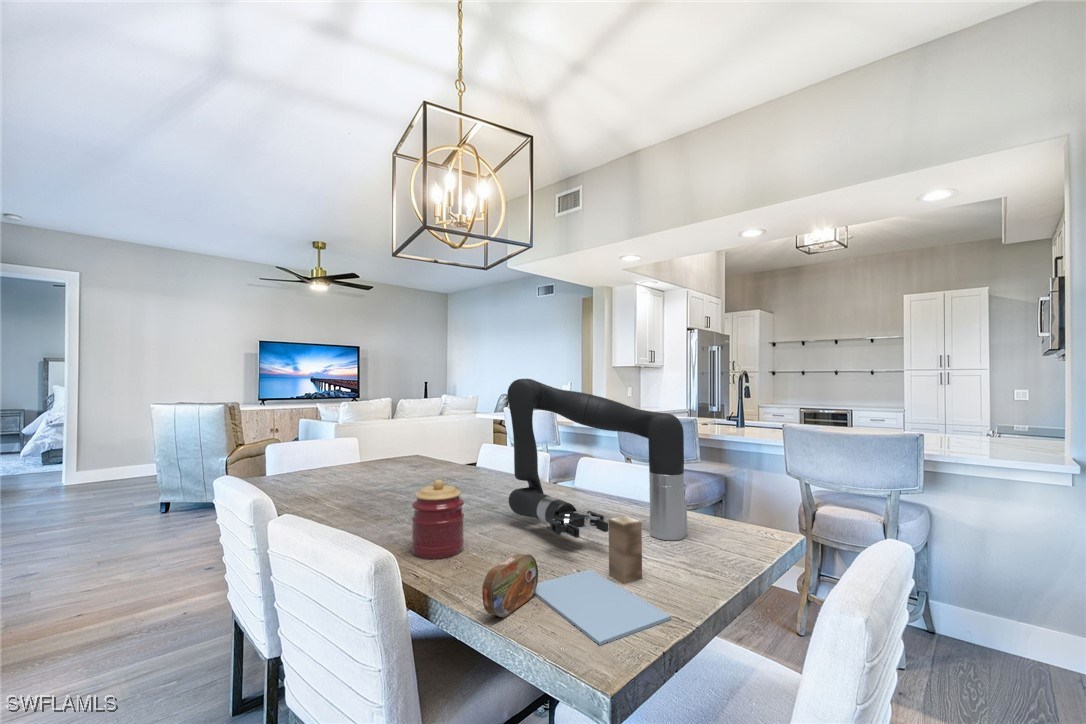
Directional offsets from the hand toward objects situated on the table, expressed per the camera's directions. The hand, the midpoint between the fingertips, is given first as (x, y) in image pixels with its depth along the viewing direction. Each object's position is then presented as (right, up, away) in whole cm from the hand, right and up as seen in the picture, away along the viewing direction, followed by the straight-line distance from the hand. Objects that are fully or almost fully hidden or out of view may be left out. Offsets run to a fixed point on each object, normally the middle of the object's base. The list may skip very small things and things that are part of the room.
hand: (592, 530), depth 111 cm
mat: (-2, -6, -22) cm, 23 cm away
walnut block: (+6, -7, -10) cm, 13 cm away
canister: (-38, -8, +7) cm, 40 cm away
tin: (-18, -6, -23) cm, 30 cm away
